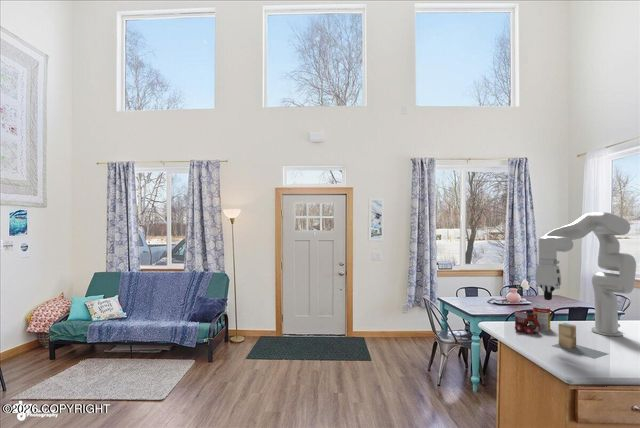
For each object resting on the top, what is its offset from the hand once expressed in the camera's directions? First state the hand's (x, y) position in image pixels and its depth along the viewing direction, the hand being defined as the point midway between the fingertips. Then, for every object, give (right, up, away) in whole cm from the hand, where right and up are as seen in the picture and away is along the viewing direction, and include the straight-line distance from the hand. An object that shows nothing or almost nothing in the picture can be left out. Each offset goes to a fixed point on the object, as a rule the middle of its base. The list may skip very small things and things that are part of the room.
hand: (548, 299), depth 176 cm
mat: (+6, -20, -12) cm, 25 cm away
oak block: (+4, -20, -8) cm, 22 cm away
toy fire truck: (-2, -21, +15) cm, 26 cm away
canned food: (+10, -21, +21) cm, 31 cm away
